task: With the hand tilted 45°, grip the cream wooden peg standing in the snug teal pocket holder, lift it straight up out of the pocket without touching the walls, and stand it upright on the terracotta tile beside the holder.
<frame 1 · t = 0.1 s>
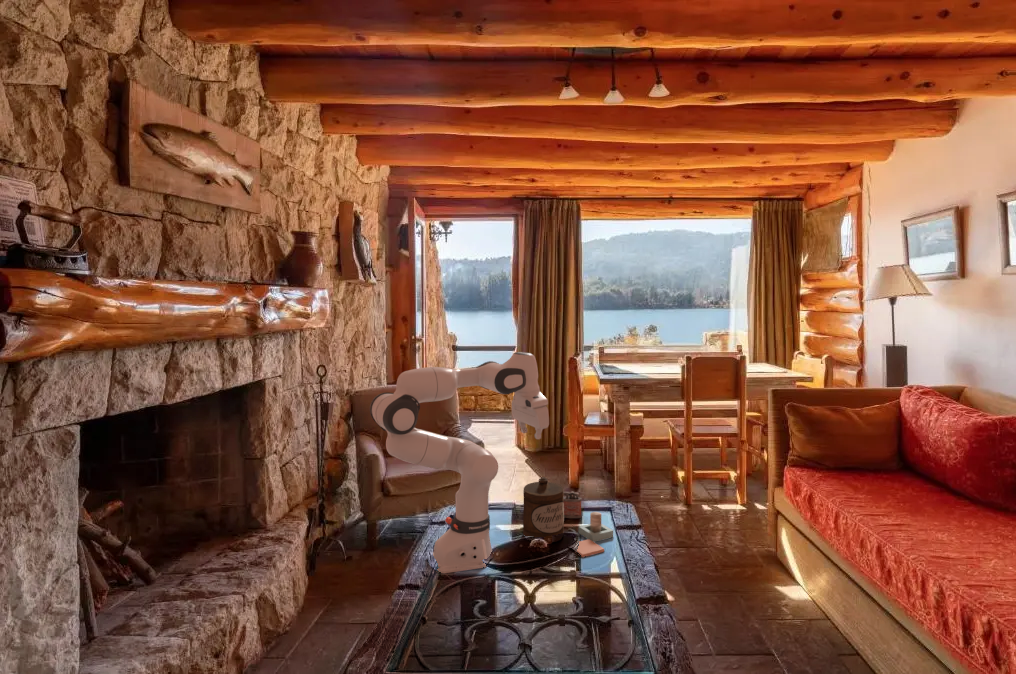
hand: (531, 435, 214), 39 cm above the table, tool pointing down, fingers open, 8 cm apart
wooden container: (543, 536, 223), on the table
lighter: (571, 516, 241), on the table
pocket holder: (595, 535, 223), on the table
peg: (595, 524, 223), in the pocket holder
terracotta tile: (586, 549, 212), on the table
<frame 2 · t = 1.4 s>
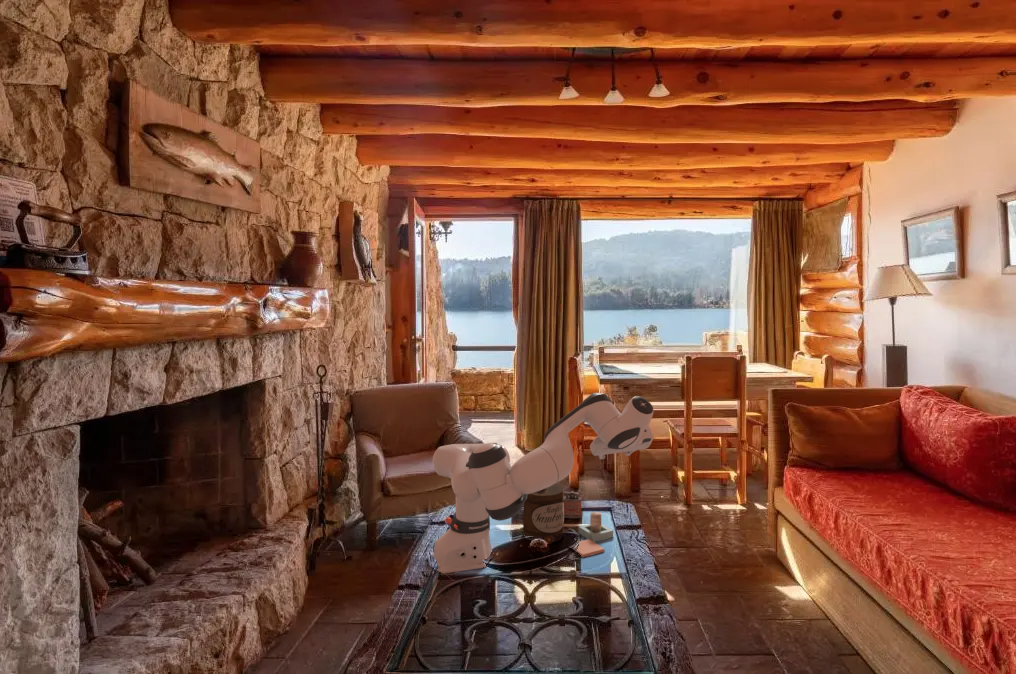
hand: (614, 455, 204), 35 cm above the table, tool tilted 45°, fingers open, 8 cm apart
nothing on the table moved.
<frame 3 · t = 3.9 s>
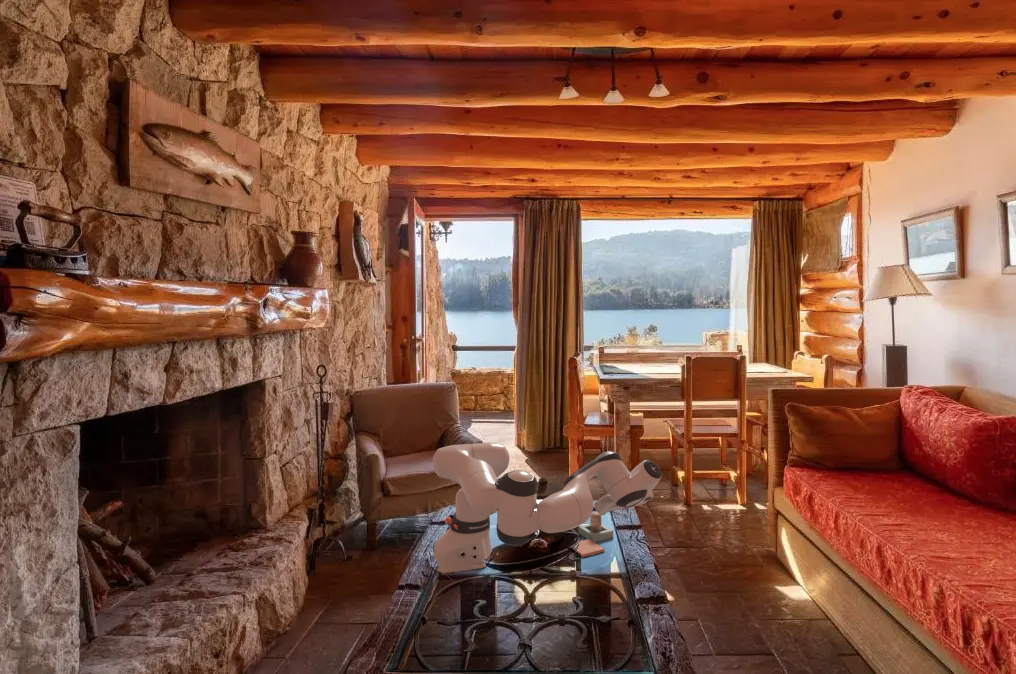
hand: (612, 511, 215), 12 cm above the table, tool tilted 45°, fingers open, 8 cm apart
nothing on the table moved.
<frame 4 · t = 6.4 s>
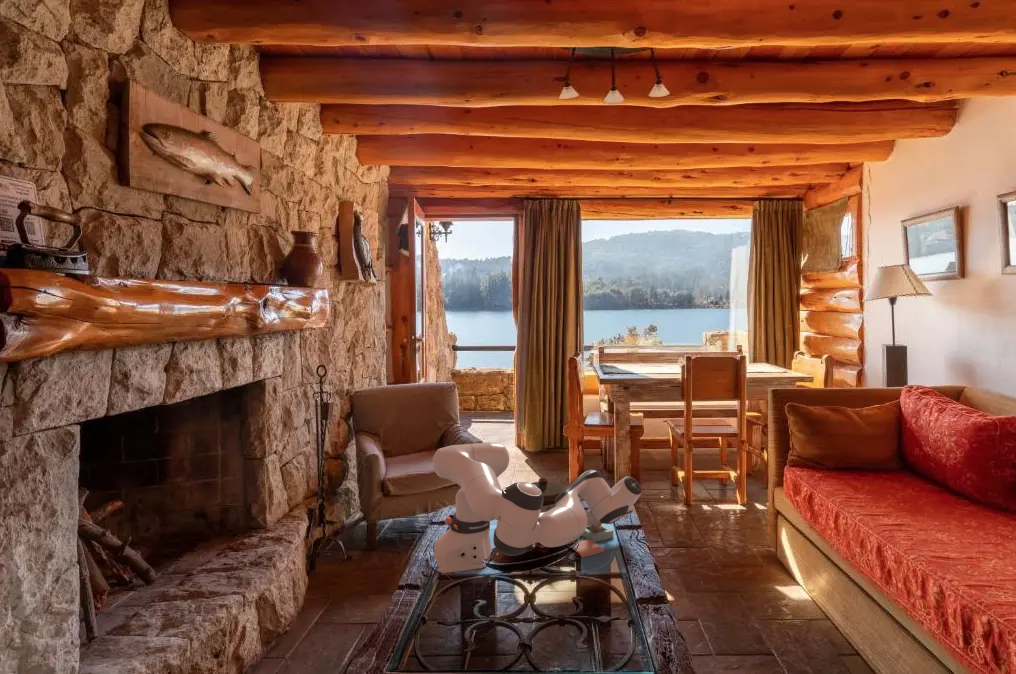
hand: (595, 523, 223), 4 cm above the table, tool tilted 45°, fingers closed on peg, 4 cm apart
peg: (595, 524, 223), in the pocket holder, touching gripper
everything else where it was.
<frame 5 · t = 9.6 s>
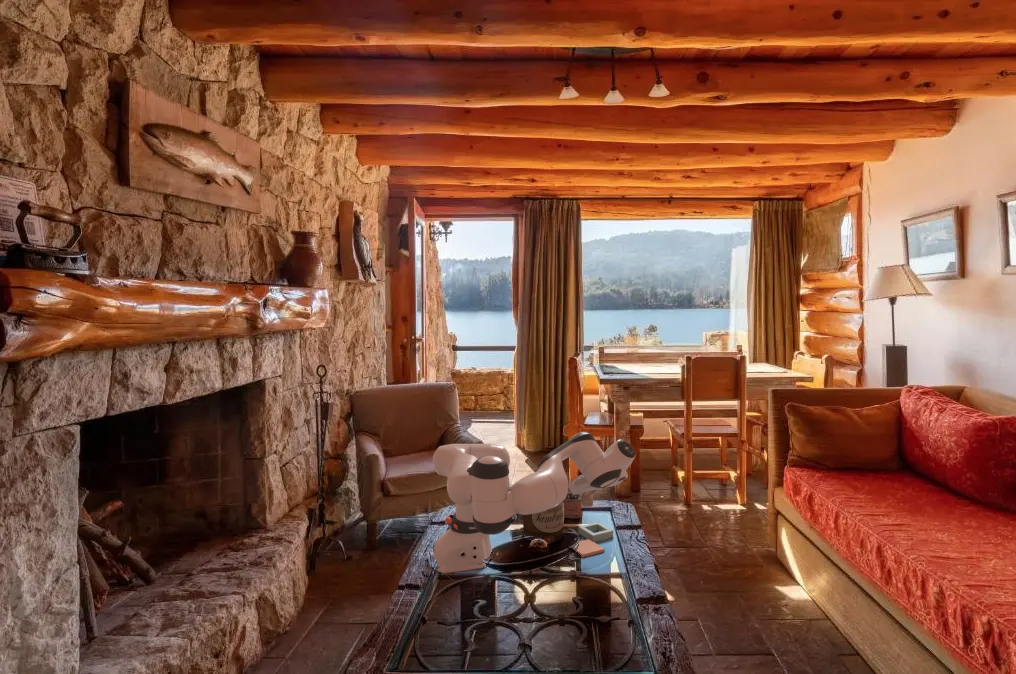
hand: (586, 492, 213), 19 cm above the table, tool tilted 45°, fingers closed on peg, 4 cm apart
peg: (587, 493, 213), point 19 cm above the table, touching gripper
everything else where it was.
when the fingers open (5 cm above the table, at t = 12.9 s): peg stays where it is, resting on terracotta tile.
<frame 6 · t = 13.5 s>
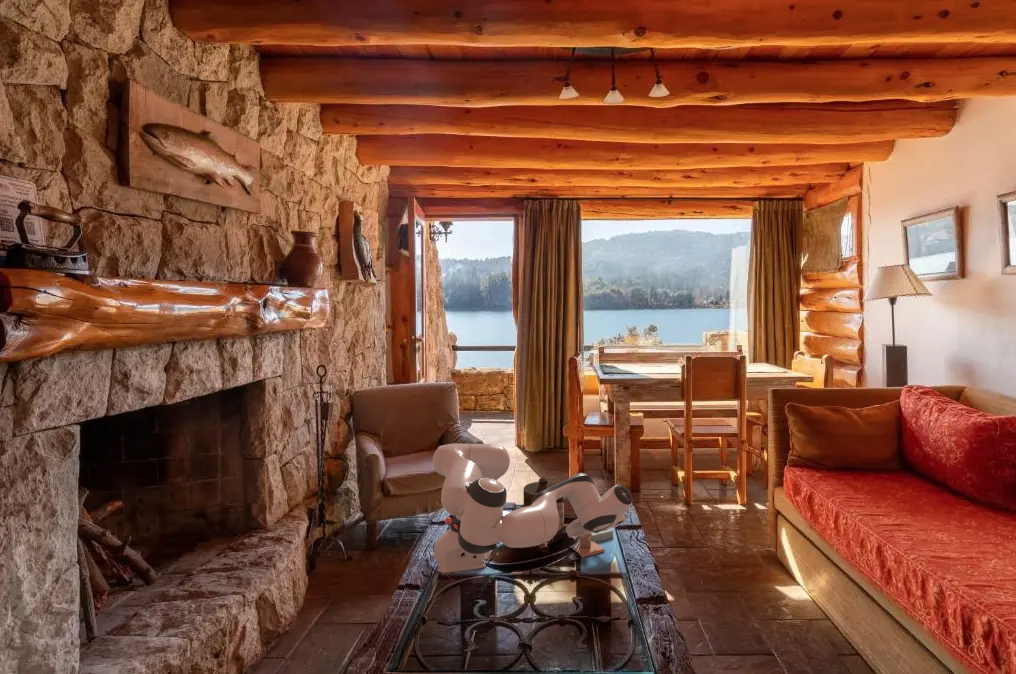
hand: (584, 533, 212), 5 cm above the table, tool tilted 45°, fingers open, 8 cm apart
peg: (585, 535, 212), on the terracotta tile, point 5 cm above the table
everything else where it was.
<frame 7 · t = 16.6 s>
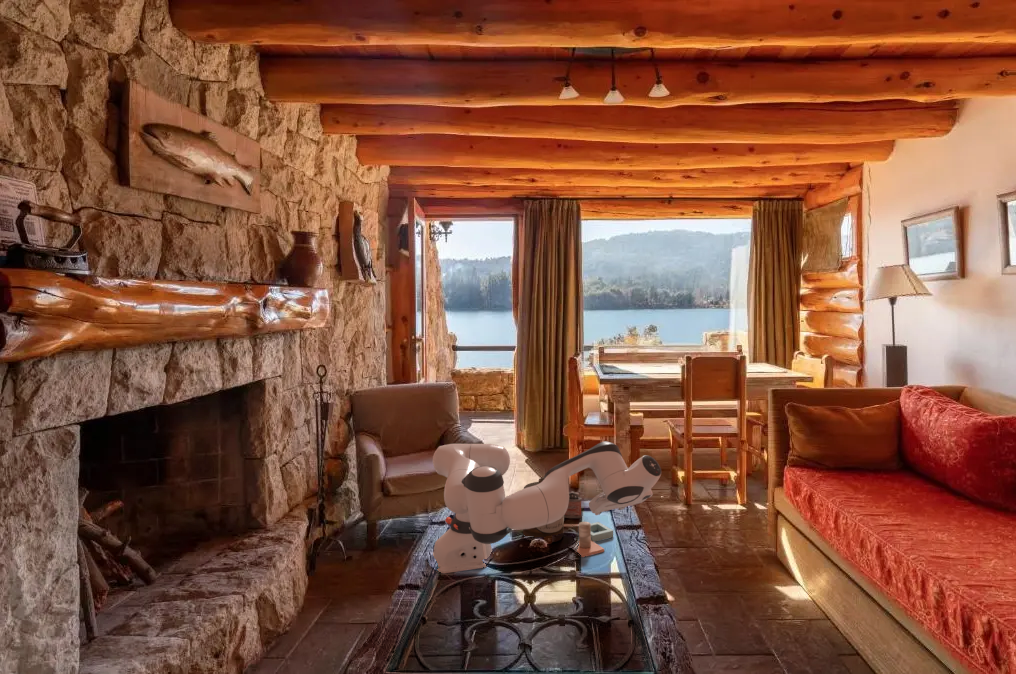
hand: (608, 510, 199), 18 cm above the table, tool tilted 45°, fingers open, 8 cm apart
nothing on the table moved.
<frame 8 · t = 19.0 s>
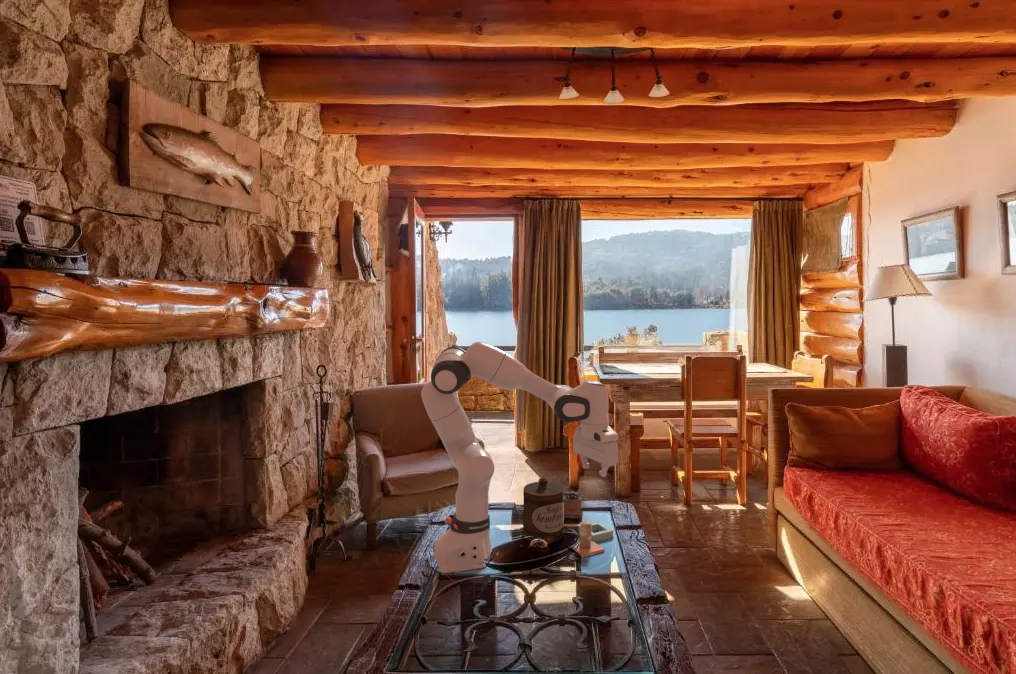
hand: (594, 472, 198), 31 cm above the table, tool pointing down, fingers open, 8 cm apart
nothing on the table moved.
at the end: peg inside the target area (0.4 cm from its centre), point 5.1 cm above the table; peg tilted 3°; the gripper is holding nothing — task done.
